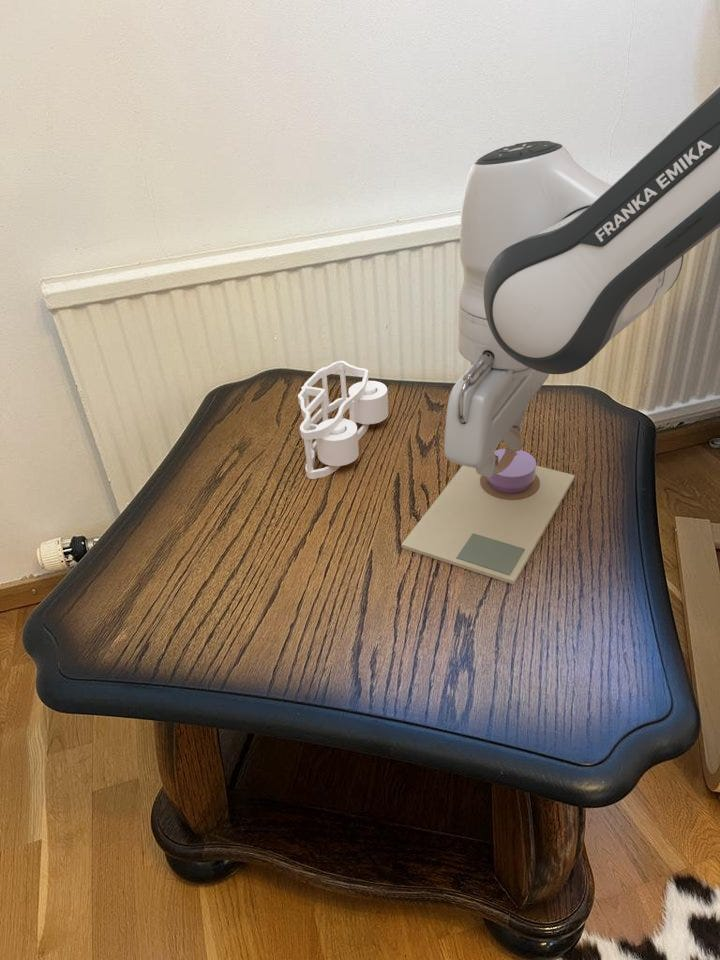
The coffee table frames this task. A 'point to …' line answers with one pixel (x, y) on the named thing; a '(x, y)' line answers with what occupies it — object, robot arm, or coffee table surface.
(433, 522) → the mat
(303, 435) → the car outline toy
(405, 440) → the coffee table surface
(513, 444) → the perforated watch strap
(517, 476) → the lavender hockey puck
